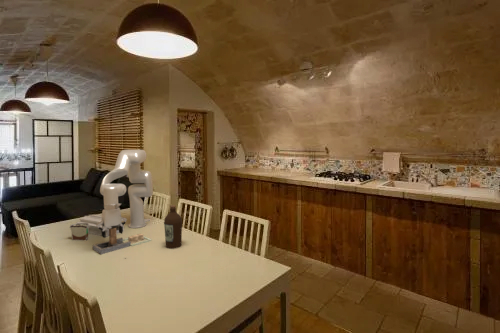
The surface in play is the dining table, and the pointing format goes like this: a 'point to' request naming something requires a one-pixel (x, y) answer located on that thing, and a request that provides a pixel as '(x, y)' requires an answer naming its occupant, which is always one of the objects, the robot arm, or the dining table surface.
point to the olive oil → (173, 228)
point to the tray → (139, 242)
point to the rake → (112, 237)
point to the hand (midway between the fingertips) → (112, 235)
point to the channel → (104, 248)
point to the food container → (79, 231)
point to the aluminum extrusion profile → (93, 229)
